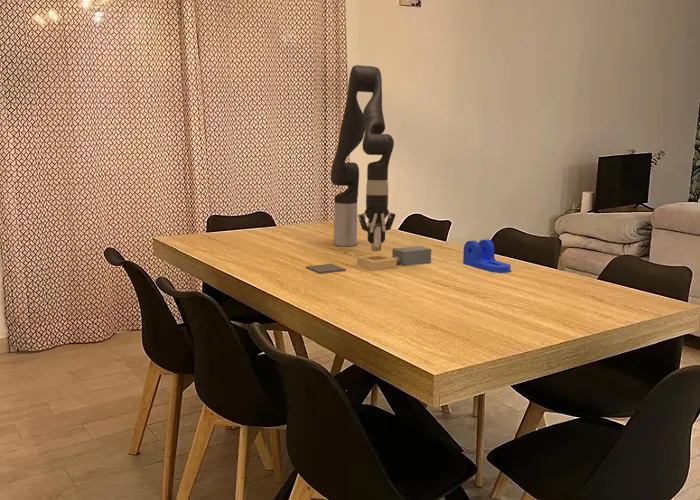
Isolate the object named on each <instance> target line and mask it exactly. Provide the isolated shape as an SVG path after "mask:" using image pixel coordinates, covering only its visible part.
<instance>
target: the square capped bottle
mask: <svg viewBox="0 0 700 500" xmlns="http://www.w3.org/2000/svg"><path fill="white" fill-rule="evenodd" d="M381 230H382V223H379V222H377V223H375V226H374V229H373V243H370V244H371V247H370V248H371V250H370V251H372V252H380V251H382V243H381Z"/></svg>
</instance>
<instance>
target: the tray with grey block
mask: <svg viewBox="0 0 700 500" xmlns="http://www.w3.org/2000/svg"><path fill="white" fill-rule="evenodd" d="M391 256H392V257H390V256H387V255H385V254H371V255H363V256H361V255H360V256H356V266H358V267H359V268H364V269H366V270H369V271H382V270H390V269H396V268H397V265H400V266H402V267H404V266H414V265H423V264H431V263H432V248H429V247H425V246H421V245H416V246H414V245H413V246H405V247H396V248H392V255H391Z"/></svg>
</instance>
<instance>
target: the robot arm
mask: <svg viewBox="0 0 700 500" xmlns="http://www.w3.org/2000/svg"><path fill="white" fill-rule="evenodd" d="M382 82H383V81H382V73H381V70H380V68H379V67H377V66H370V65H363V64H362V65H359V64H355V65H353V66H352V67H351V70H350V73H349V78H348V83H347V84H348V86H347V94H346V101H345V107H344V112H343V116H342V121H341V125H340V130H339V137H338V143H337V147H336V151H335V154H334V158H333V161H332V165H331V170H330V182H331V184H333V185H334V186H336V187H337V186H338V187H339V186H340V187H342V186H343V187H344V186H345V187H346V186H347V188H346V189H345V190H344V191H342V192H340V193H337V194H336V195H334V220H333V244H334V245H335V246H337V247H338V246H339V247H340V246H341V247H352V246H356V245H358V244H357V243H358V221H359V223H360V226H361V229H362V231H365V232H367V242H368V243H369V244H371V243H373V229H374V226H375V223H377V222H379V223H382V230H381V244H384V242H385V240H386V232H387V231H390V230H391V229H392V226H393V224H394V220H395V217H396V213H394V212H390V211H389V208H388V206H389V181H388V179H389V177H388V176H389V172H388V171H389V163H390V160H391V157H392V153H393V149H394V146H395V141H394V137H392V135H390V134H388V133H384V132H385V130H386V124H385V123H386V122H385V118H384V114H383V113H384V112H383V85H382ZM359 92H360V93H372V95H371V97H370V99H369V101H368V102H367V103H366V105H365V107H364V109H363V110H362V108H361V106H360V104H359V101H358V93H359ZM361 142H362V150H363V152H364V154H366V155H369V156H381V158H380V159H379V160H376V161H372V162H369V163H367V170H366V171H367V172H366V174H367V175H366V185H365V186H366V187H365V189H366V190H365V193H366V194H365V208H366V209H364V212H363V213H361V214H360V213H358V199H359V185H360V184H359V183H360V168H359V165H358V163H356V162H351V161H349V162H346V160H347V158H348V157H349V156H350V154H351V153H353V152H354V150H355V149H356V148H357V147H358V146H359V145H360V144H361ZM386 218H387V219H386ZM366 219H368V220H367V221H366ZM385 219H386V220H385Z"/></svg>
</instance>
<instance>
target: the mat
mask: <svg viewBox="0 0 700 500" xmlns="http://www.w3.org/2000/svg"><path fill="white" fill-rule="evenodd" d="M305 269H307V270H310V271H312V272H314V273H316V274H319V275H321V274H329V273H330V274H331V273H337V272H338V273H339V272H346V270H347V269H346V268H344V267H342V266H339V265H335V264H334V263H326V264H316V265H307V266H305Z"/></svg>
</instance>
